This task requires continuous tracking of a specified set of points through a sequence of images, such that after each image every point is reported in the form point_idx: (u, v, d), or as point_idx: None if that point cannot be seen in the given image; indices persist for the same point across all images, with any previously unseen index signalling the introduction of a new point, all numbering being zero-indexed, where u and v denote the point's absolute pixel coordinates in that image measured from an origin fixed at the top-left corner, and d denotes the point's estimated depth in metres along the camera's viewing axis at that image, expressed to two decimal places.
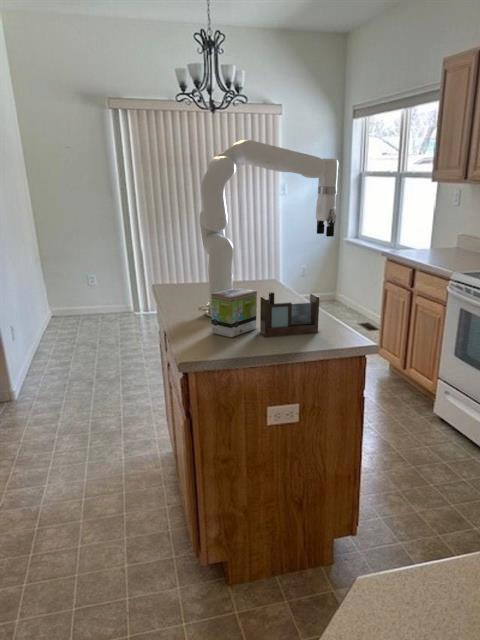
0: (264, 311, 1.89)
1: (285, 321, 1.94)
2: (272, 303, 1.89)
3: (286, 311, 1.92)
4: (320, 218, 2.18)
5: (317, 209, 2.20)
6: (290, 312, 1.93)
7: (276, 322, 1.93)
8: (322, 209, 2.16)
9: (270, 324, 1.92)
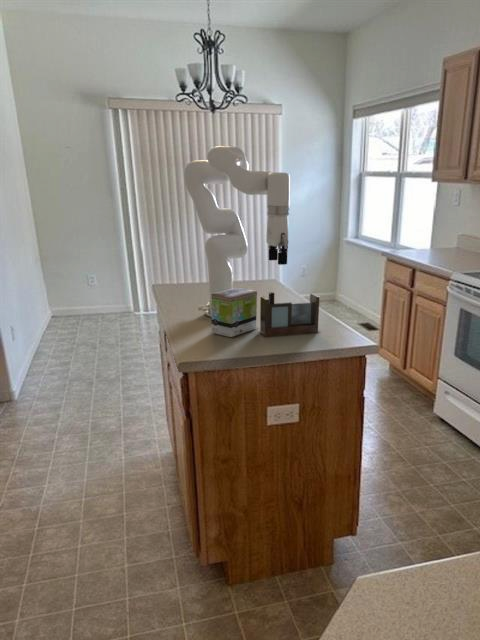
0: (264, 311, 1.89)
1: (285, 321, 1.94)
2: (272, 303, 1.89)
3: (286, 311, 1.92)
4: (271, 243, 1.83)
5: (267, 232, 1.85)
6: (290, 312, 1.93)
7: (276, 322, 1.93)
8: (272, 232, 1.81)
9: (270, 324, 1.92)
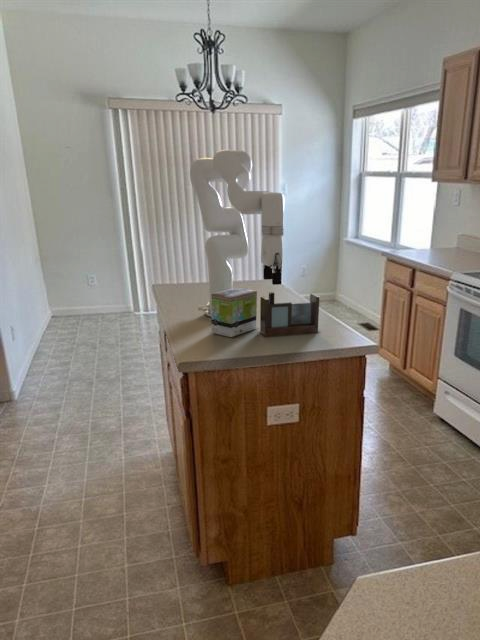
0: (264, 311, 1.89)
1: (285, 321, 1.94)
2: (272, 303, 1.89)
3: (286, 311, 1.92)
4: (265, 263, 1.82)
5: (262, 251, 1.84)
6: (290, 312, 1.93)
7: (276, 322, 1.93)
8: (266, 252, 1.80)
9: (270, 324, 1.92)
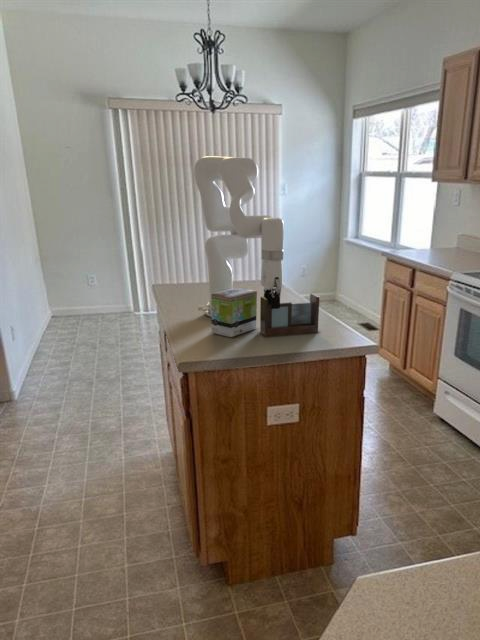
0: (264, 311, 1.89)
1: (285, 321, 1.94)
2: None
3: (286, 311, 1.92)
4: (265, 286, 1.85)
5: (262, 275, 1.87)
6: (290, 312, 1.93)
7: (276, 322, 1.93)
8: (266, 276, 1.83)
9: (270, 324, 1.92)
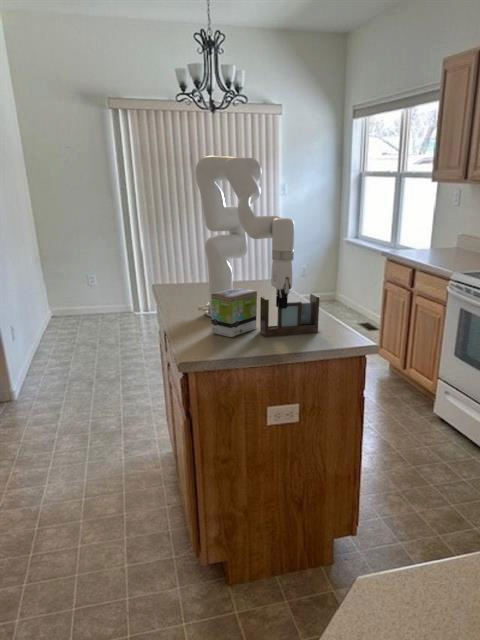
0: (264, 311, 1.89)
1: (295, 320, 1.95)
2: None
3: (296, 310, 1.94)
4: (275, 286, 1.87)
5: (272, 275, 1.89)
6: (299, 311, 1.94)
7: (286, 321, 1.94)
8: (277, 276, 1.84)
9: (280, 323, 1.93)
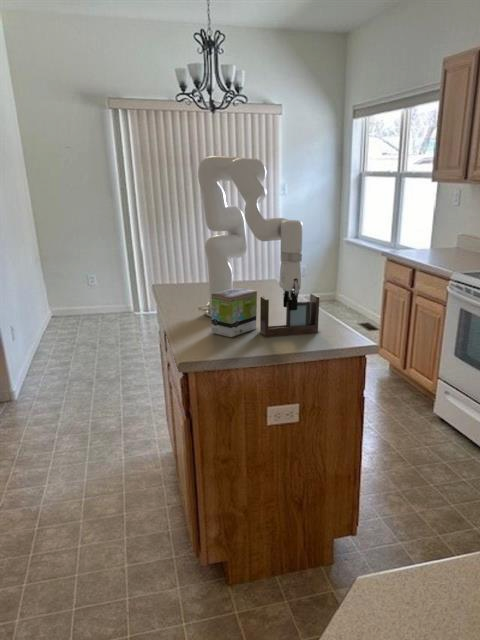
0: (264, 311, 1.89)
1: (303, 320, 1.96)
2: None
3: (304, 310, 1.95)
4: (284, 287, 1.88)
5: (280, 276, 1.90)
6: (308, 311, 1.95)
7: (294, 321, 1.95)
8: (285, 278, 1.85)
9: (289, 323, 1.94)
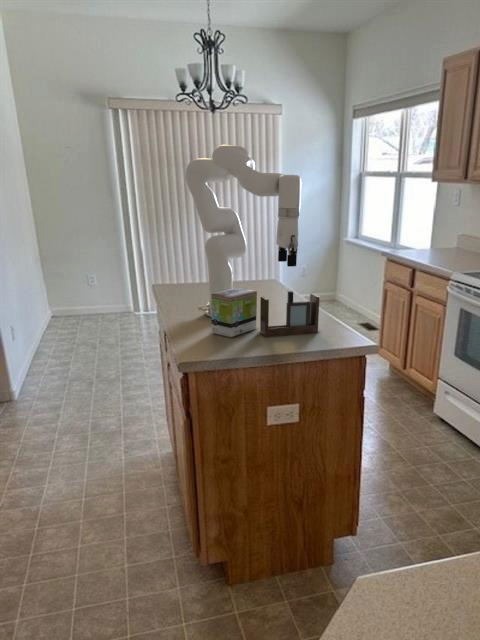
0: (264, 311, 1.89)
1: (303, 320, 1.96)
2: (291, 301, 1.91)
3: (304, 310, 1.95)
4: (280, 244, 1.85)
5: (278, 233, 1.87)
6: (308, 311, 1.95)
7: (294, 321, 1.95)
8: (282, 234, 1.82)
9: (289, 323, 1.94)
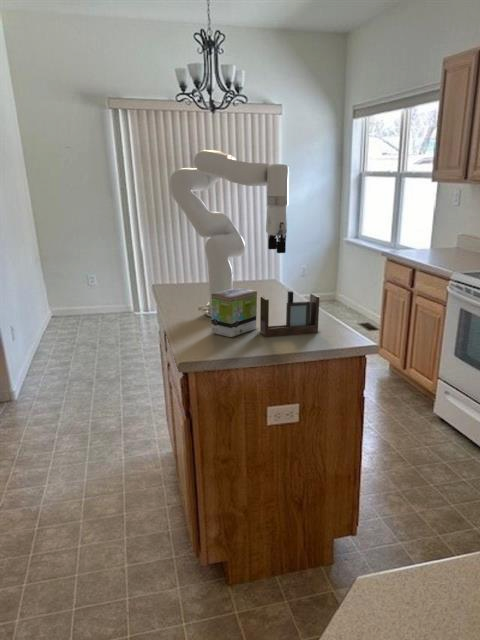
0: (264, 311, 1.89)
1: (303, 320, 1.96)
2: (291, 301, 1.91)
3: (304, 310, 1.95)
4: (270, 232, 1.91)
5: (267, 222, 1.93)
6: (308, 311, 1.95)
7: (294, 321, 1.95)
8: (271, 222, 1.88)
9: (289, 323, 1.94)
